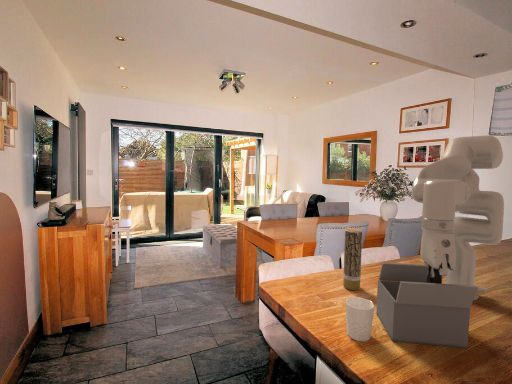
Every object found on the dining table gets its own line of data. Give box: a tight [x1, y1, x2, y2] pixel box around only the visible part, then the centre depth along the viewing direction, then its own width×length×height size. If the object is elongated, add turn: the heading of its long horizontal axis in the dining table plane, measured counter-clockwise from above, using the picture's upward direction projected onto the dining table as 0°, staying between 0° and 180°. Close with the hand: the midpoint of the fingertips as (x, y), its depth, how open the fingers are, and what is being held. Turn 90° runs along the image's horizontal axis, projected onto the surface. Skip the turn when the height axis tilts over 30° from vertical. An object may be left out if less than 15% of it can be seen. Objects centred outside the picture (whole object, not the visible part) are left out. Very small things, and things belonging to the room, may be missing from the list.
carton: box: [376, 279, 471, 349], centre depth 87 cm, size 20×16×12 cm
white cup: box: [345, 296, 375, 342], centre depth 84 cm, size 8×8×10 cm
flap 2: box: [396, 281, 478, 309], centre depth 77 cm, size 8×19×1 cm
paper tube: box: [342, 227, 363, 291], centre depth 118 cm, size 7×7×25 cm
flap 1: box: [378, 262, 428, 283], centre depth 93 cm, size 8×19×1 cm
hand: (433, 290), depth 78 cm, fingers closed
